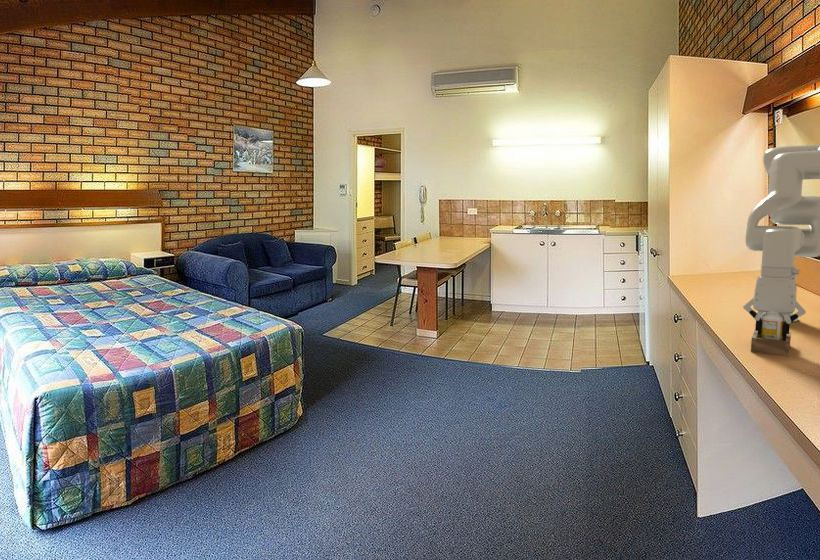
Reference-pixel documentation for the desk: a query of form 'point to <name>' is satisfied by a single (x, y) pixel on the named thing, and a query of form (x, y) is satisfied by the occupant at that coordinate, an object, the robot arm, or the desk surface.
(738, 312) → the desk surface
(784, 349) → the walled box
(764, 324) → the supplement bottle
